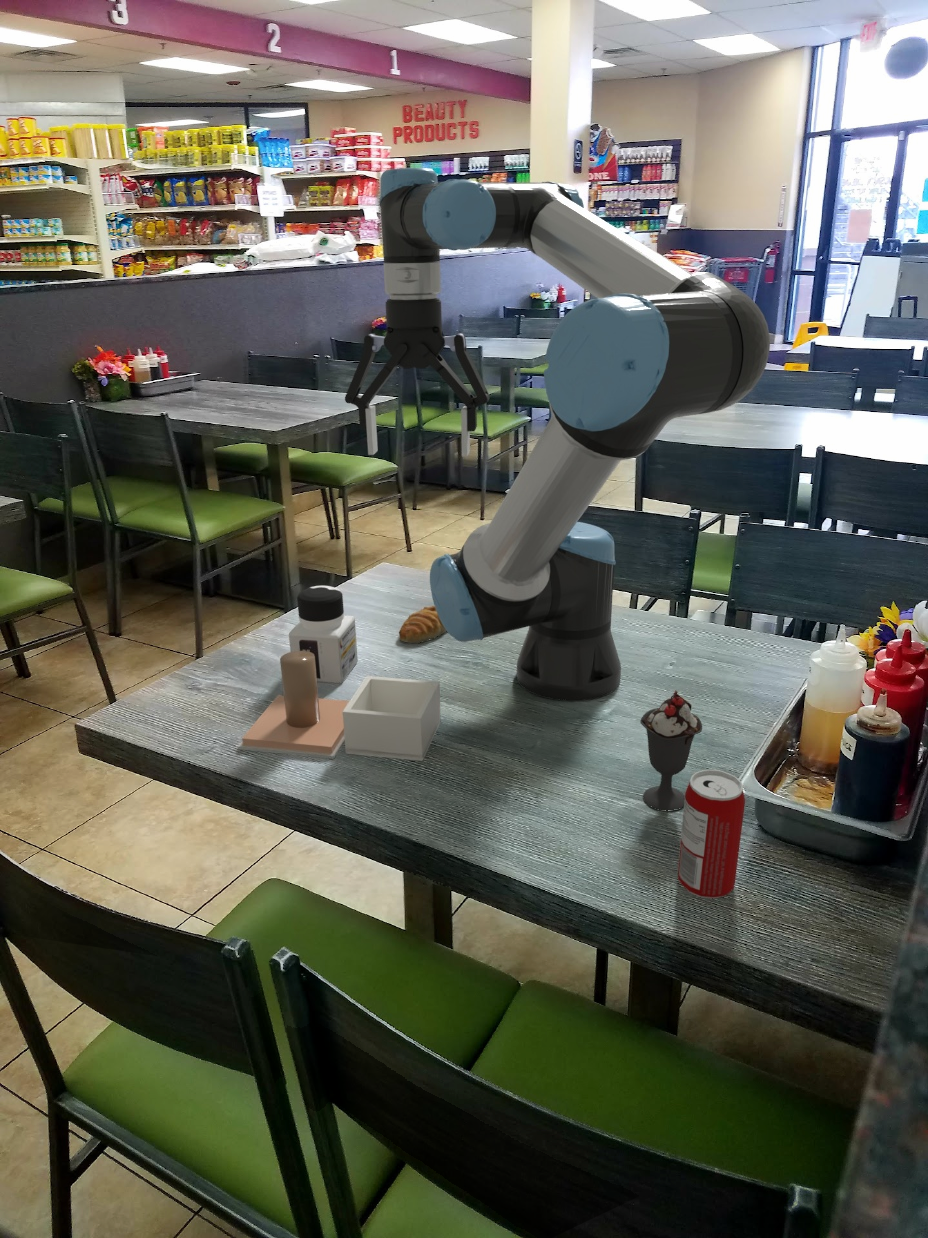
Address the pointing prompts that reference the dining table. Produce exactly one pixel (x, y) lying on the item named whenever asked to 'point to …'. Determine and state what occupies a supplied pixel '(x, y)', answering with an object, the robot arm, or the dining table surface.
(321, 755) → the mat
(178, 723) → the dining table surface
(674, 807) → the sundae
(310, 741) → the lid
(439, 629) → the pastry
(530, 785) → the dining table surface
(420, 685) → the white open box
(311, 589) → the container
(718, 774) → the soda can
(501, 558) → the robot arm
